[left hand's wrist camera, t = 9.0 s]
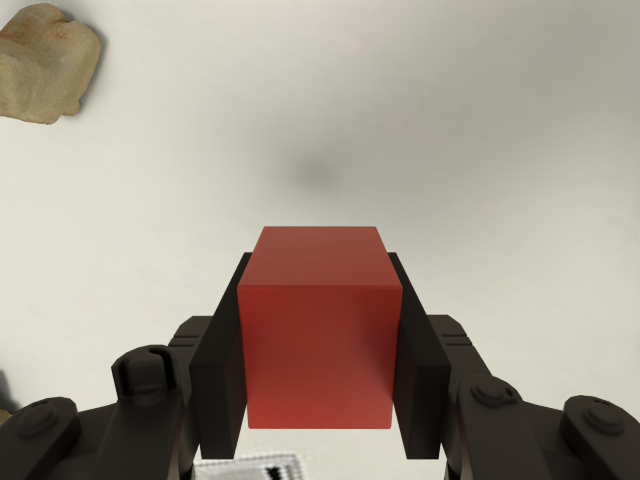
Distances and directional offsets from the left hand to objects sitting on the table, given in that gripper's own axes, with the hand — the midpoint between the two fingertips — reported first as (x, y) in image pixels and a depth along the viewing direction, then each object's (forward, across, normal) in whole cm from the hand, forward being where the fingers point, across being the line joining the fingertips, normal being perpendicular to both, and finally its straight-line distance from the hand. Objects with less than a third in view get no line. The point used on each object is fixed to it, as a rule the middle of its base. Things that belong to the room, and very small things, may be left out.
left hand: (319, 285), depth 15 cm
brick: (0, 0, 0) cm, 0 cm away
